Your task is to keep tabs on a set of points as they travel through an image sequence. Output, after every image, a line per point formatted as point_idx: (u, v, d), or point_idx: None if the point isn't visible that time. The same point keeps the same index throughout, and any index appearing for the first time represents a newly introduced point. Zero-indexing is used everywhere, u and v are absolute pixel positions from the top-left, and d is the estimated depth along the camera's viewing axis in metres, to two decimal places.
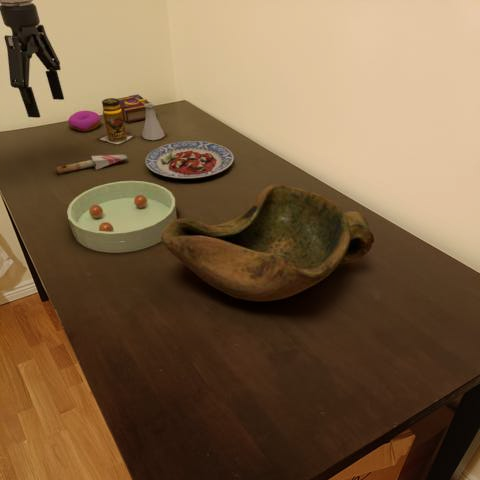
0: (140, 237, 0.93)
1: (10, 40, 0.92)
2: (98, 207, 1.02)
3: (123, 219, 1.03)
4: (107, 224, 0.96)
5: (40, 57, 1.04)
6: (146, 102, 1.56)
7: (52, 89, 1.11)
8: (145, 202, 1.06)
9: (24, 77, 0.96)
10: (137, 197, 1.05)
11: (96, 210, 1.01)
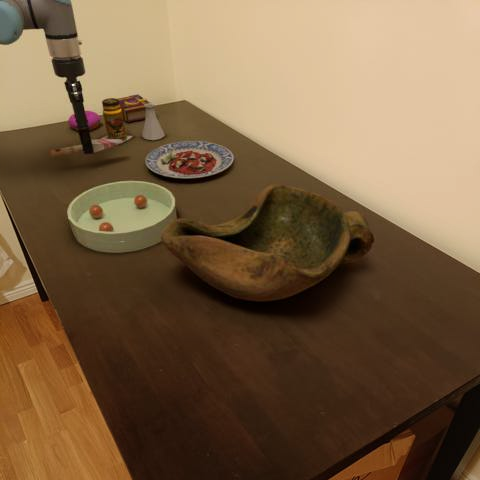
0: (140, 237, 0.93)
1: (77, 96, 1.07)
2: (98, 207, 1.02)
3: (123, 219, 1.03)
4: (107, 224, 0.96)
5: None
6: (146, 102, 1.56)
7: None
8: (145, 202, 1.06)
9: None
10: (137, 197, 1.05)
11: (96, 210, 1.01)
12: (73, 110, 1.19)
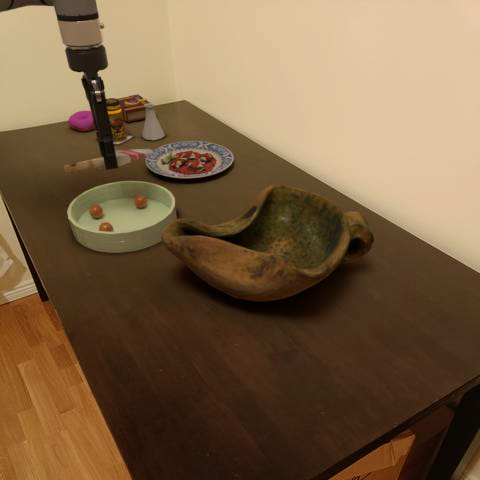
0: (140, 237, 0.93)
1: (98, 97, 0.83)
2: (98, 207, 1.02)
3: (123, 219, 1.03)
4: (107, 224, 0.96)
5: None
6: (146, 102, 1.56)
7: None
8: (145, 202, 1.06)
9: None
10: (137, 197, 1.05)
11: (96, 210, 1.01)
12: None
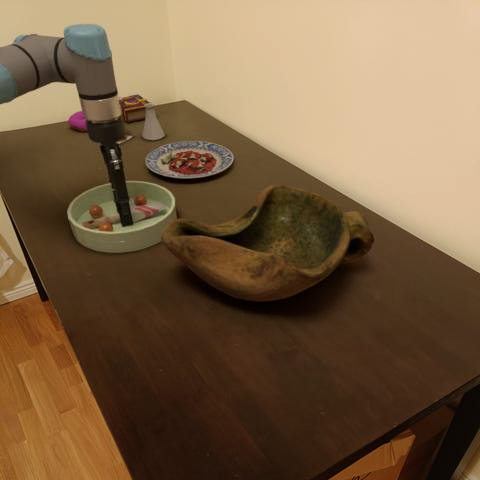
0: (140, 237, 0.93)
1: (116, 165, 0.87)
2: (98, 207, 1.02)
3: None
4: (107, 224, 0.96)
5: None
6: (146, 102, 1.56)
7: None
8: (145, 202, 1.06)
9: None
10: (137, 197, 1.05)
11: (96, 210, 1.01)
12: (108, 174, 0.99)
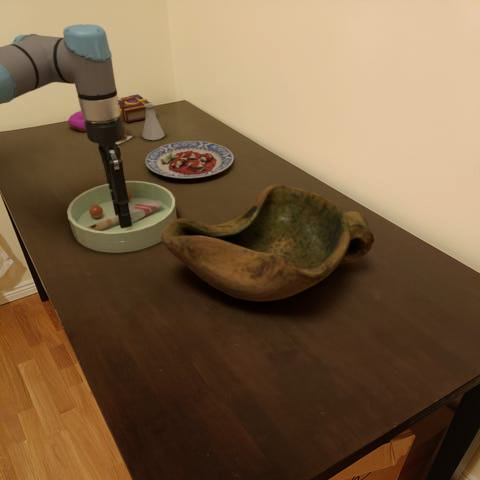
0: (140, 237, 0.93)
1: (116, 165, 0.87)
2: (98, 207, 1.02)
3: None
4: None
5: None
6: (146, 102, 1.56)
7: None
8: None
9: None
10: None
11: (96, 210, 1.01)
12: (106, 175, 0.99)
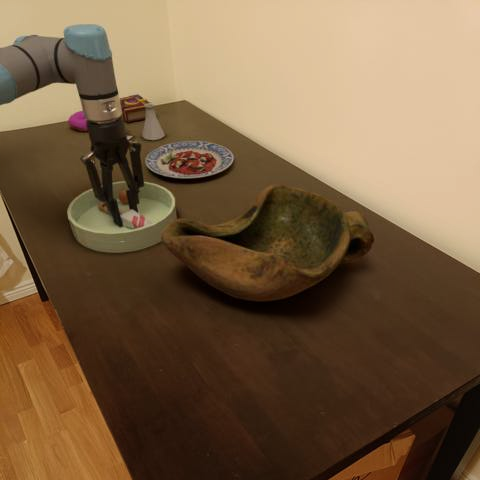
0: (140, 237, 0.93)
1: (84, 163, 0.88)
2: None
3: None
4: None
5: (122, 172, 0.96)
6: (146, 102, 1.56)
7: (130, 207, 1.02)
8: None
9: (107, 192, 0.94)
10: None
11: None
12: None
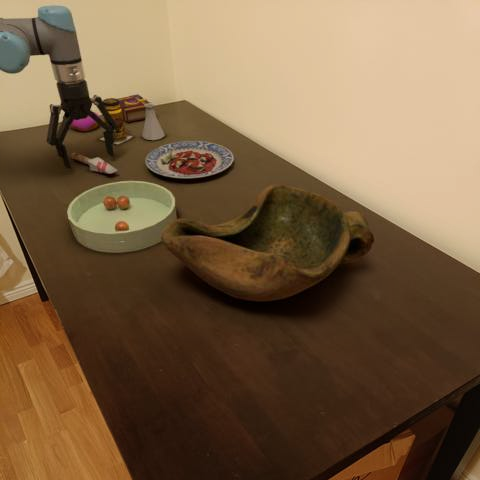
0: (140, 237, 0.93)
1: (51, 109, 1.11)
2: None
3: (123, 219, 1.03)
4: None
5: (95, 121, 1.20)
6: (146, 102, 1.56)
7: (106, 146, 1.27)
8: (118, 199, 1.05)
9: (59, 137, 1.15)
10: None
11: None
12: None
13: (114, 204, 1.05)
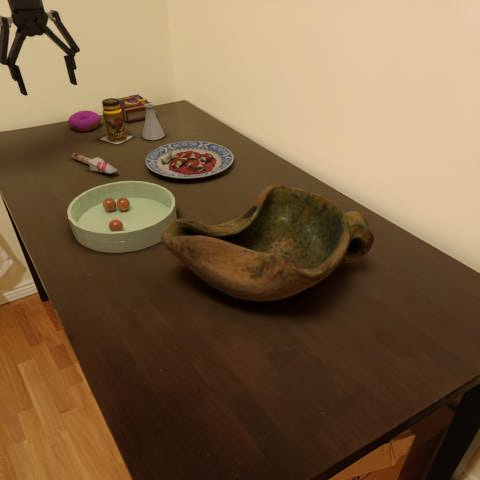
0: (140, 237, 0.93)
1: (0, 20, 0.99)
2: None
3: (123, 219, 1.03)
4: (121, 228, 0.97)
5: (53, 41, 1.08)
6: (146, 102, 1.56)
7: (68, 73, 1.15)
8: (119, 204, 1.04)
9: (11, 56, 1.03)
10: (122, 197, 1.05)
11: None
12: None
13: (114, 207, 1.05)
